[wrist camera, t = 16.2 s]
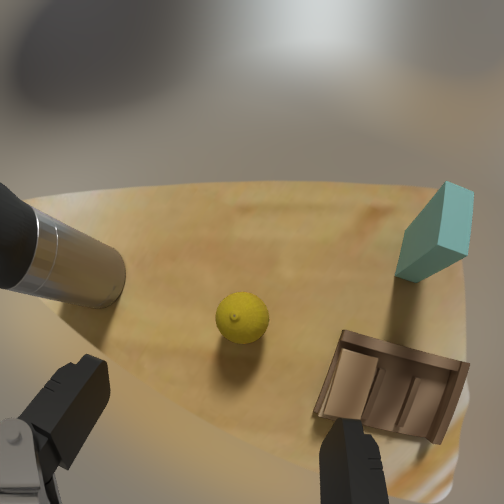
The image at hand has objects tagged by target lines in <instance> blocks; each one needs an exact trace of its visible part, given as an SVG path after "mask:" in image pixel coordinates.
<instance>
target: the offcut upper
mask: <svg viewBox="0 0 504 504" xmlns="http://www.w3.org/2000/svg"><path fill="white" fill-rule="evenodd" d="M377 362H378V358H376V357H371V356H366V355H361V354H357V353H352V352H347V351H343V350H341V352H340V356H339V359H338V363H337V367H336V370H335V374H334V377H333V380H332V384H331V387H330V391H329V394H328V397H327V400H326V403H325V407H324V410H323V412H324V414H327V415H332V416H337V417H342V418H351V419H360V418H361V415H362V412H363V409H364V406H365V403H366V400H367V397H368V393H369V390H370V387H371V383H372V380H373V377H374V373H375V369H376V366H377Z"/></svg>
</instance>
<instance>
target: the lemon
mask: <svg viewBox="0 0 504 504" xmlns="http://www.w3.org/2000/svg"><path fill="white" fill-rule="evenodd" d="M268 323H269V313H268V310H267V307H266V305H265V304H264V303H263V301H262V300H261V299H260V298H258V297H257V296H255V295H253V294H251V293H247V292H236V293H233V294H231V295H229V296H227V297H226V298H224V299H223V300H222V302H221V303H220V304H219V306H218V308H217V311H216V324H217V327H218V329H219V331H220V333H221V334H222V335H223V336H224V337H225V338H226V339H228V340H229V341H231V342H234V343H238V344H247V343H252V342H254V341H256V340H258V339H259V338H260V337H261V336H262V335H263V334H264V332H265V331H266V329H267V327H268Z"/></svg>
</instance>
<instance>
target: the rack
mask: <svg viewBox="0 0 504 504" xmlns="http://www.w3.org/2000/svg"><path fill="white" fill-rule="evenodd" d="M342 348H344V349H347V350H350V351H354V352H357V353H361V354H364V355H368V356H371V357H376V358H378V362H377V366H376V369H375V373H374V377H373V380H372V383H371V387H370V390H369V393H368V397H367V400H366V403H365V406H364V409H363V412H362V415H361V418H360V420H361V422H362V425H366V426H370V427H374V428H379V429H383V430H388V431H393V432H398V433H403V434H408V435H413V436H419V437H425V438H427V439H428V440H429V441H430V442H431V443H432V444H439V445H441V443H442V440H443V438H444V436H445V434H446V431H447V429H448V426H449V424H450V421H451V419H452V416H453V414H454V411H455V409H456V406H457V403H458V400H459V398H460V395H461V392H462V389H463V386H464V383H465V380H466V376H467V373H468V370H469V366H470V363H466V362H462V361H457V360H453V359H449V358H446V357H442V356H438V355H434V354H430V353H426V352H423V351H419V350H415V349H411V348H408V347H404V346H400V345H397V344H393V343H390V342H386V341H383V340H379V339H376V338H372V337H369V336H365V335H362V334H358V333H355V332H352V331H348V330H342V333H341V336H340V339H339V342H338V345H337V348H336V351H335V354H334V357H333V359H332V362H331V365H330V368H329V371H328V373H327V376H326V379H325V382H324V384H323V387H322V389H321V392H320V395H319V397H318V400H317V402H316V405H315V407H314V412H317V413H318V411H319V409H320V406H321V404H322V401H323V398H324V396H325V393H326V391H327V388H328V385H329V383H330V380H331V377H332V375H333V372H334V369H335V366H336V363H337V361H338V358H339V355H340V352H341V349H342Z"/></svg>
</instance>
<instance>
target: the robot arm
mask: <svg viewBox="0 0 504 504" xmlns="http://www.w3.org/2000/svg"><path fill="white" fill-rule="evenodd" d="M124 282H125V265H124V261H123V259H122V257H121V255H120V254H119V253H118V251H116V250H115V249H114V248H112V247H110V246H108V245H106V244H104V243H102V242H100V241H98V240H96V239H94V238H92V237H90V236H88V235H86V234H84V233H82V232H80V231H78V230H76V229H74V228H72V227H70V226H68V225H66V224H64V223H63V222H61V221H59V220H57V219H55V218H53V217H51V216H49V215H47V214H45V213H43V212H41V211H39V210H38V209H36V208H34V207H32V206H30V205H28V204H26V203H25V202H23V201H21V200H20V199H19V198H18V197H16V195H15V194H13V193H12V192H11V191H10V190H9V189H8V188H7V187H6V186H5V185H3V184H2V183H0V288H1V289H7V290H10V291H14V292H19V293H23V294H28V295H32V296H37V297H41V298H46V299H51V300H55V301H60V302H65V303H70V304H75V305H80V306H86V307H91V308H104V307H107V306H109V305H111V304H112V303H113V302H114V301H115V300H116V299H117V298H118V296H119V295H120V293H121V291H122V289H123V286H124ZM109 397H110V383H109V375H108V366H107V362H106V361H104V360H101V359H99V358H96V357H94V356H91V355H89V354H85V355H84V356H83V357H82V358H81V359H80V361H79V362H78V363H77V364H73V363H71V362H70V363H68V364H67V365H65V366H63V367H61V368H59V369H58V370H57V371H56V373H55V374H54V375H53V376H52V377H51V379H50V380H49V381H48V382H47V383H46V384H45V386H44V388H42V389H41V390H40V392H39V393H38V394H37V395H36V397H35V398H34V399H33V400H32V401H31V403H30V404H29V405H28V406H27V408H26V409H25V410H24V411H23V413H22V414H21V415H20V416H19V417H18V418H7V419H4V420H2V421H1V422H0V504H62V502H61V498H60V494H59V490H58V486H57V482H56V478H55V473H54V472H55V470H56V469H57V467H58V465H59V466H60V467H62V468H64V469H66V470H69V468H70V466H71V464H72V463H73V461H74V459H75V458H76V456H77V454H78V453H79V451H80V449H81V447H82V446H83V444H84V442H85V441H86V439H87V437H88V435H89V434H90V432H91V430H92V428H93V427H94V425H95V424H96V422H97V420H98V418H99V417H100V415H101V414H102V412H103V410H104V409H105V407H106V405H107V403H108V401H109ZM319 465H320V495H321V504H389V500H388V494H387V488H386V482H385V477H384V471H382V469H383V466H382V461H381V456H380V451H379V446H378V445H377V443H376V442H375V440H374V439H373V437H372V436H371V435H370V434H364V432H363V426H362V422H361V420H360V419H351V418H341V417H339V418H337V420H336V421H335V423H334V424H333V426H332V428H331V429H330V431H329V433H328V434H327V436H326V437H325V439H324V440H323V442H322V445H321V448H320V453H319Z"/></svg>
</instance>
